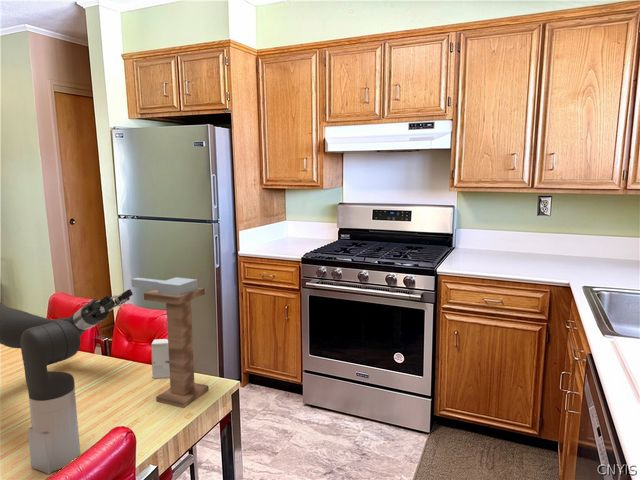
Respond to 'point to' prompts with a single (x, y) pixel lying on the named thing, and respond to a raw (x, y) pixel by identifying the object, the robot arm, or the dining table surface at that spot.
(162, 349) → the skincare box
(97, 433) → the dining table surface
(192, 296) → the brown wooden stand
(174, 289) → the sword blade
